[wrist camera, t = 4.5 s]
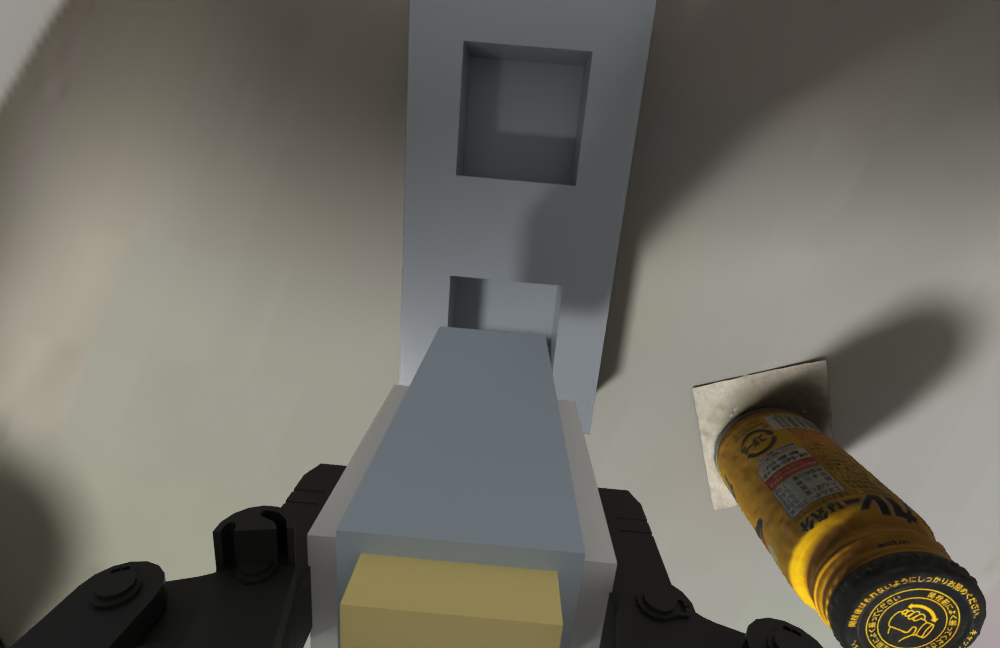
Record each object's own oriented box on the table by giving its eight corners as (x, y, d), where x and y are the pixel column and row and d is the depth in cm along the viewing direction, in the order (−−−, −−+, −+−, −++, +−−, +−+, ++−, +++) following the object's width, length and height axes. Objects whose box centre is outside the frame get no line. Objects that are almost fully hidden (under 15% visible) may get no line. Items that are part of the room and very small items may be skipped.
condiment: (713, 508, 31) (826, 706, 19) (691, 386, 29) (804, 530, 17) (835, 484, 30) (1028, 677, 18) (822, 357, 28) (1035, 487, 16)
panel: (412, 388, 29) (398, 415, 26) (426, 1, 23) (410, -28, 20) (581, 404, 29) (589, 434, 26) (638, 18, 23) (658, -8, 20)
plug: (434, 421, 20) (317, 775, 8) (439, 326, 19) (311, 579, 7) (534, 430, 20) (560, 798, 8) (545, 335, 19) (594, 605, 7)
